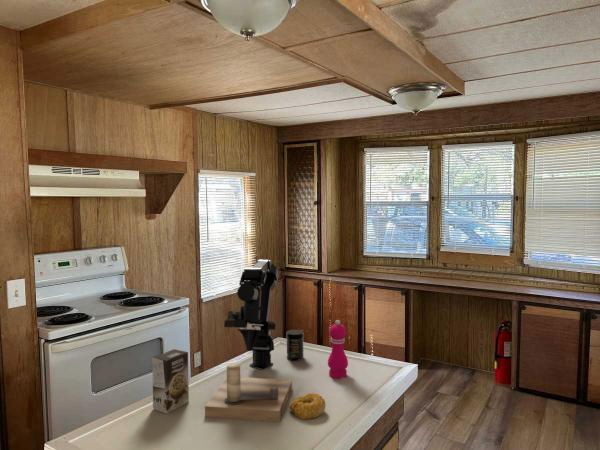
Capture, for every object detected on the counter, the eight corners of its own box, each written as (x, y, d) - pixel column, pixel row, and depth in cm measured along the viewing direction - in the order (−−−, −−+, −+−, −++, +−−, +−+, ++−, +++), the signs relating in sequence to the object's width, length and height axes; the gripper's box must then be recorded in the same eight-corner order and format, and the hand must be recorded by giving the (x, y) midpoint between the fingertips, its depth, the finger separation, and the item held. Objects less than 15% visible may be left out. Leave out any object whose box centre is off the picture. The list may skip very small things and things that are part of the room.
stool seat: (228, 385, 154) (228, 375, 154) (292, 388, 151) (292, 379, 150) (205, 416, 132) (204, 405, 132) (279, 421, 129) (279, 410, 129)
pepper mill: (348, 371, 165) (348, 317, 164) (348, 379, 158) (348, 323, 157) (328, 370, 166) (327, 317, 165) (327, 378, 159) (327, 322, 157)
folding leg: (227, 397, 137) (226, 363, 136) (277, 394, 139) (277, 361, 138) (226, 403, 133) (226, 368, 132) (278, 400, 135) (278, 366, 134)
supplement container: (306, 359, 177) (305, 333, 177) (289, 362, 175) (289, 335, 174) (300, 354, 184) (300, 328, 183) (284, 356, 181) (284, 330, 181)
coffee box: (167, 414, 133) (165, 360, 132) (152, 409, 137) (150, 356, 136) (189, 402, 141) (188, 351, 140) (175, 397, 145) (174, 348, 144)
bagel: (297, 402, 141) (297, 387, 141) (330, 408, 137) (330, 393, 137) (283, 416, 132) (283, 400, 132) (318, 423, 128) (318, 407, 128)
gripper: (255, 306, 168) (253, 350, 164) (215, 302, 154) (211, 349, 151) (277, 305, 161) (275, 351, 157) (237, 301, 147) (233, 351, 143)
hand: (248, 350), depth 152 cm, fingers closed
